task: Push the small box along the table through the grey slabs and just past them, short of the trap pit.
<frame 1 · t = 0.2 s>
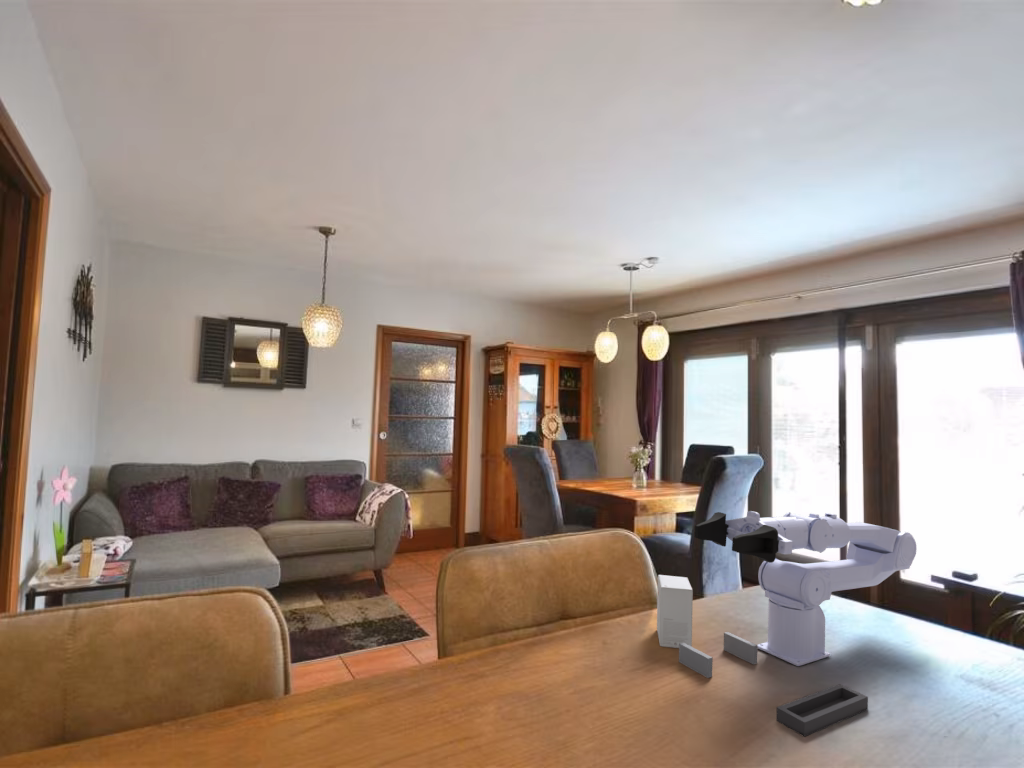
hand: (714, 537, 88), 22 cm above the table, tool horizontal, fingers open, 7 cm apart
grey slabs: (718, 662, 91), on the table
small box: (673, 640, 100), on the table
trap pit: (823, 715, 76), on the table
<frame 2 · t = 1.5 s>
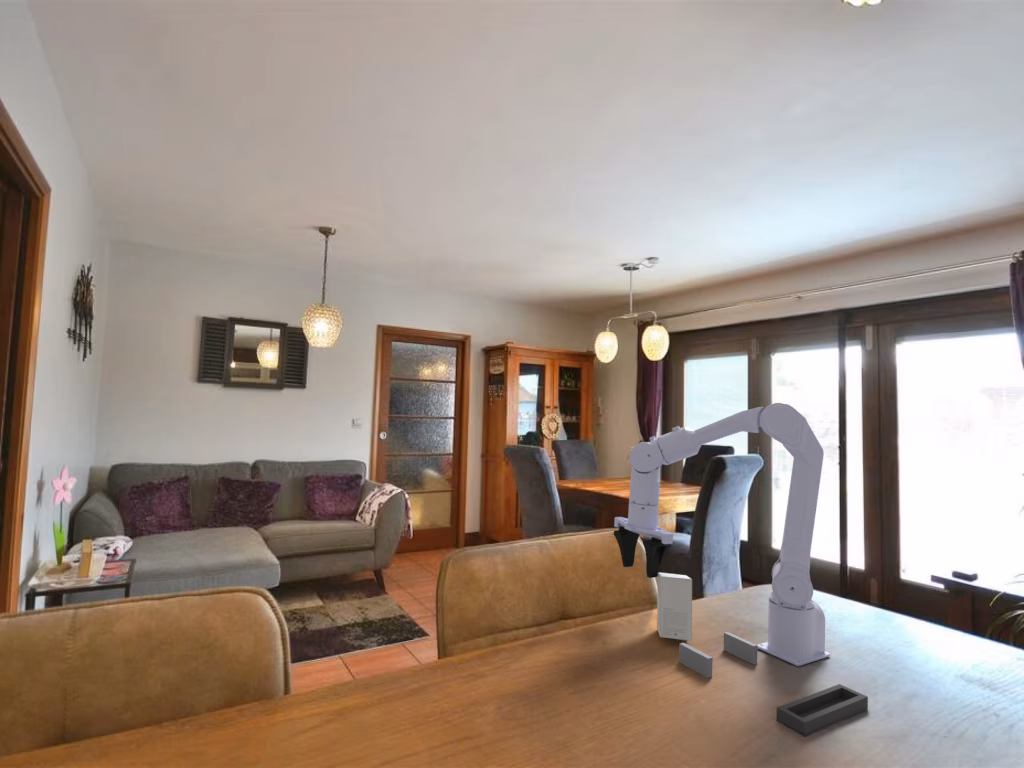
hand: (639, 571, 108), 10 cm above the table, tool pointing down, fingers open, 6 cm apart
small box: (673, 636, 100), point 1 cm above the table, touching gripper
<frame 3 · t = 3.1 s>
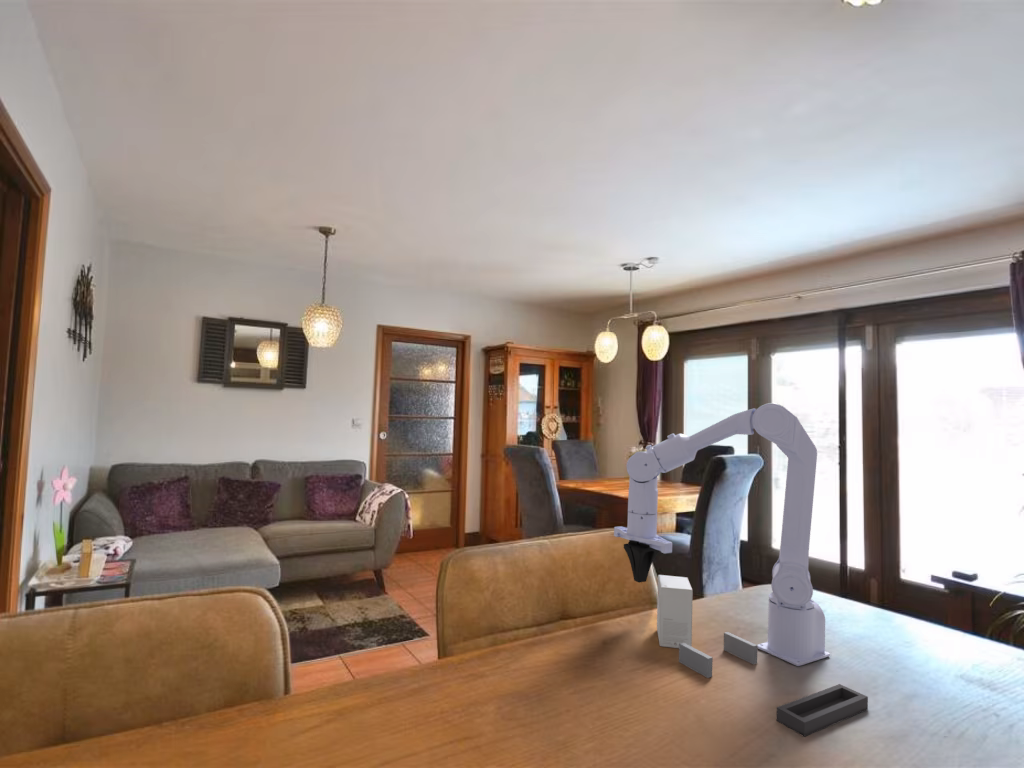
hand: (640, 581, 108), 8 cm above the table, tool pointing down, fingers closed
small box: (673, 640, 100), on the table
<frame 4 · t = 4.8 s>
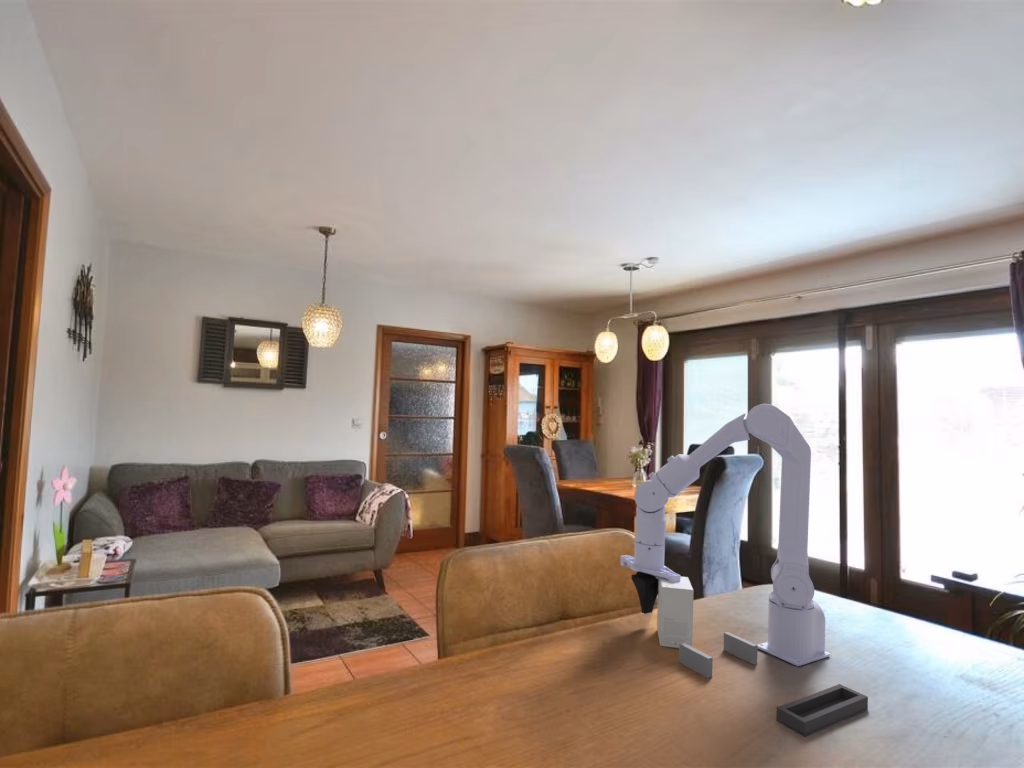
hand: (647, 612, 106), 3 cm above the table, tool pointing down, fingers closed
small box: (673, 640, 100), on the table, touching gripper
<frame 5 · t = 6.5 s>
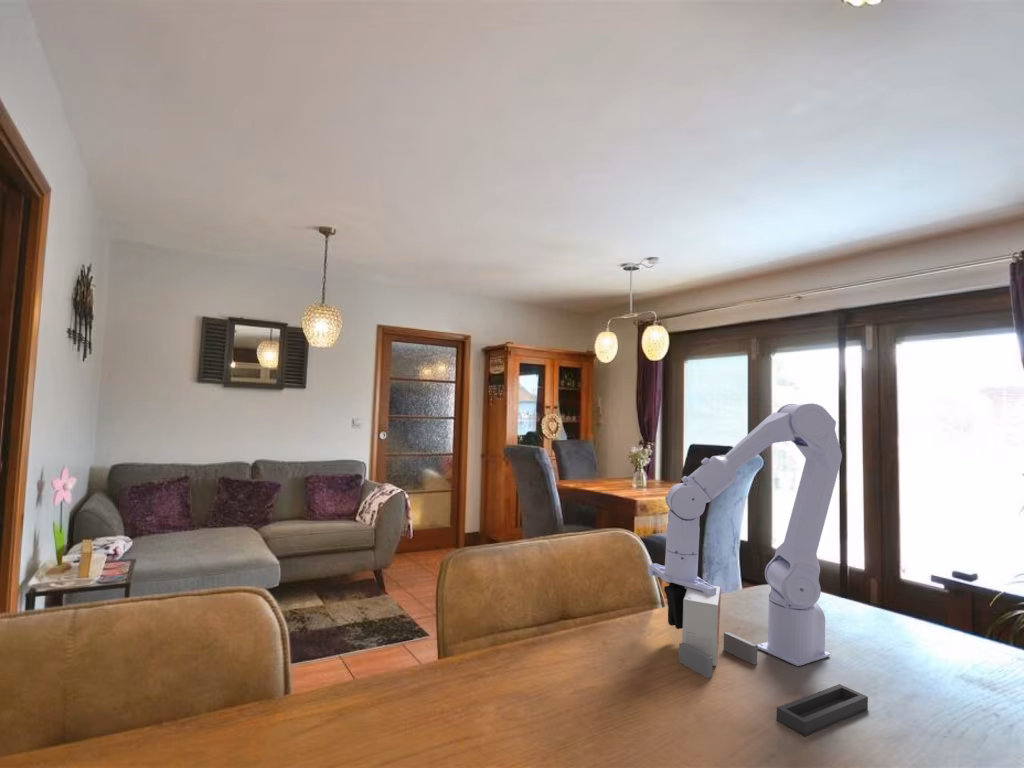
hand: (677, 626, 99), 3 cm above the table, tool pointing down, fingers closed, pressing on small box
small box: (700, 652, 94), on the table, touching gripper, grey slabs
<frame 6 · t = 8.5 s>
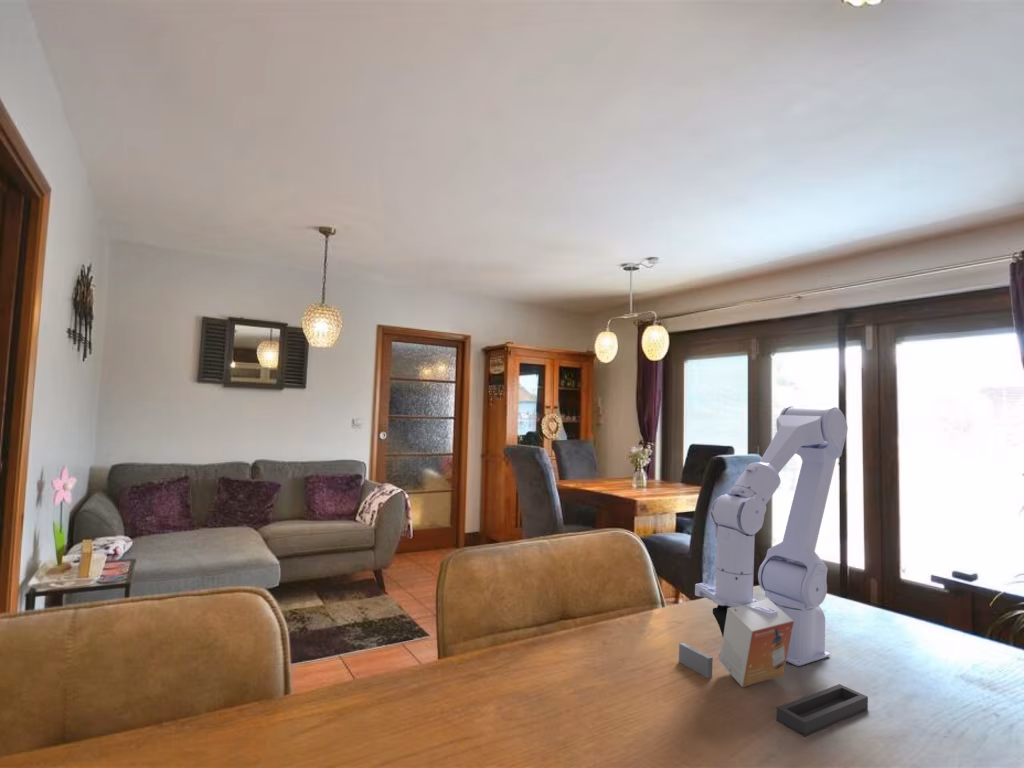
hand: (732, 654, 89), 3 cm above the table, tool pointing down, fingers closed, pressing on small box
small box: (750, 669, 87), point 1 cm above the table, touching gripper
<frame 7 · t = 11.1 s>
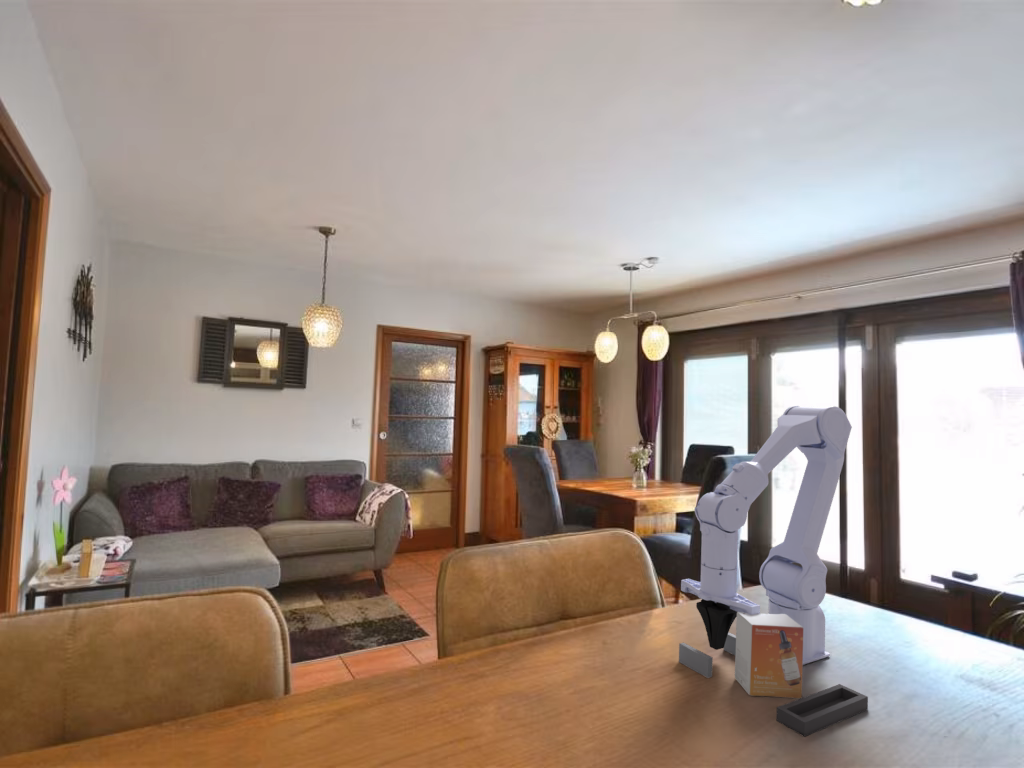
hand: (716, 647, 92), 2 cm above the table, tool pointing down, fingers closed
small box: (767, 690, 83), on the table
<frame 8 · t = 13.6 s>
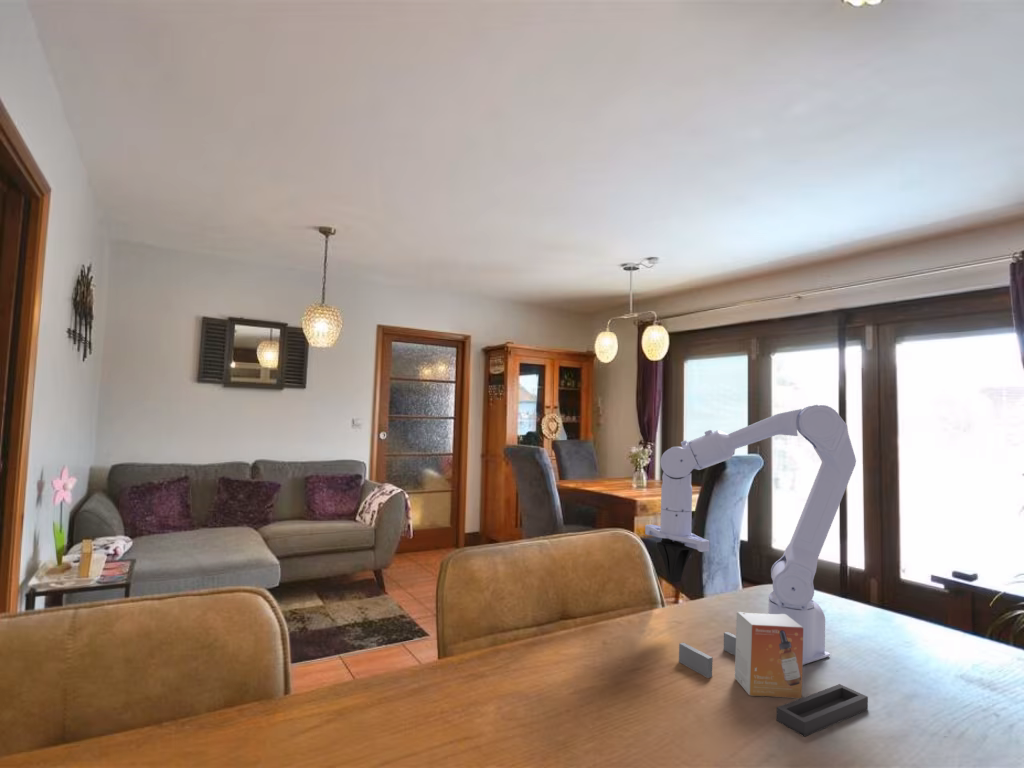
hand: (674, 580, 105), 9 cm above the table, tool pointing down, fingers closed
nothing on the table moved.
at the end: small box inside the target area (1.3 cm from its centre), on the table; small box tilted 0°; small box touching table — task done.
